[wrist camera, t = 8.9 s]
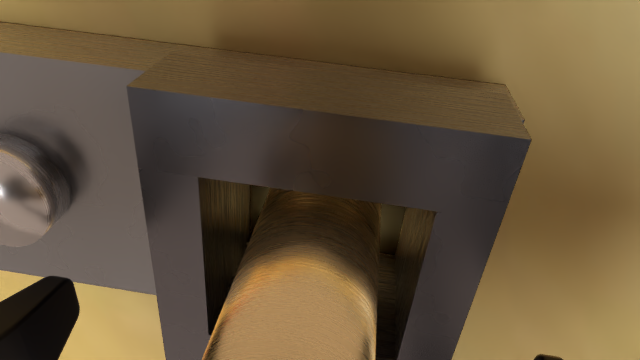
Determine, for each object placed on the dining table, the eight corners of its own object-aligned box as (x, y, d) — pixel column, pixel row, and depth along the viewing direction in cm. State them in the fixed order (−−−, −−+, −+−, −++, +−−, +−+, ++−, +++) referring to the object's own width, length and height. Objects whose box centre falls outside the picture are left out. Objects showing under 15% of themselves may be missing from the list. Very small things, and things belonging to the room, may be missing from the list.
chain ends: (401, 422, 19) (402, 557, 15) (-60, 343, 21) (-165, 449, 17) (511, 65, 11) (573, 161, 7) (-259, -29, 13) (-549, 11, 9)
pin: (387, 246, 15) (380, 636, 7) (260, 226, 15) (121, 584, 7) (412, 129, 12) (441, 512, 5) (262, 108, 13) (70, 444, 5)
